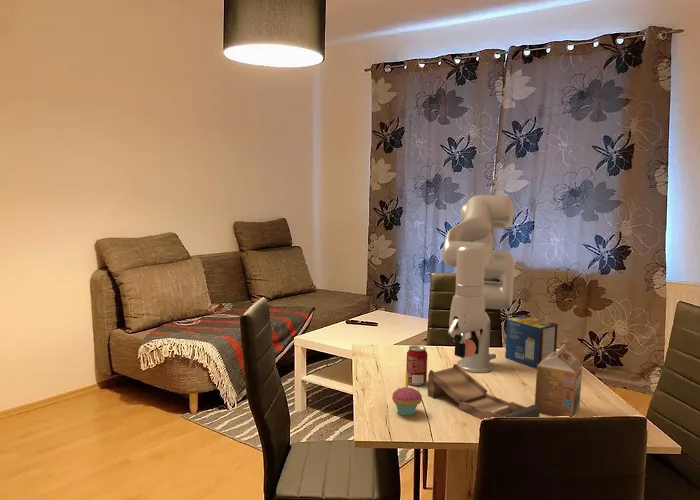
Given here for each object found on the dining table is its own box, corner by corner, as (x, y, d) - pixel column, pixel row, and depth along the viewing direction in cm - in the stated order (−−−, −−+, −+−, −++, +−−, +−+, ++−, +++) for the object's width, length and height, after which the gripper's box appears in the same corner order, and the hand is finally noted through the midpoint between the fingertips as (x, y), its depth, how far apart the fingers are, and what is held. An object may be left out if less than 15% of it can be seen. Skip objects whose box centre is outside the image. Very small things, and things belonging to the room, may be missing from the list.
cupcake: (389, 406, 168) (390, 367, 166) (418, 406, 168) (419, 367, 167) (394, 418, 159) (395, 377, 158) (424, 418, 160) (425, 377, 158)
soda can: (425, 387, 184) (426, 351, 182) (404, 385, 185) (405, 350, 184) (427, 380, 190) (428, 345, 189) (406, 378, 192) (408, 344, 190)
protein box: (522, 354, 223) (524, 315, 221) (555, 364, 210) (558, 324, 208) (504, 358, 217) (506, 318, 215) (537, 369, 204) (540, 327, 202)
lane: (426, 395, 177) (427, 369, 176) (453, 387, 184) (454, 362, 183) (511, 433, 151) (512, 403, 150) (538, 422, 159) (540, 393, 158)
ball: (465, 352, 161) (466, 335, 161) (479, 357, 157) (480, 339, 157) (453, 355, 158) (454, 338, 158) (467, 360, 154) (468, 342, 154)
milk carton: (572, 420, 160) (576, 355, 158) (534, 412, 166) (538, 349, 163) (579, 408, 169) (583, 346, 167) (543, 400, 175) (546, 340, 172)
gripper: (478, 285, 164) (476, 346, 166) (437, 291, 153) (435, 356, 156) (500, 289, 158) (496, 352, 160) (458, 296, 147) (455, 364, 150)
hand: (466, 353), depth 158 cm, fingers closed on ball, 4 cm apart
